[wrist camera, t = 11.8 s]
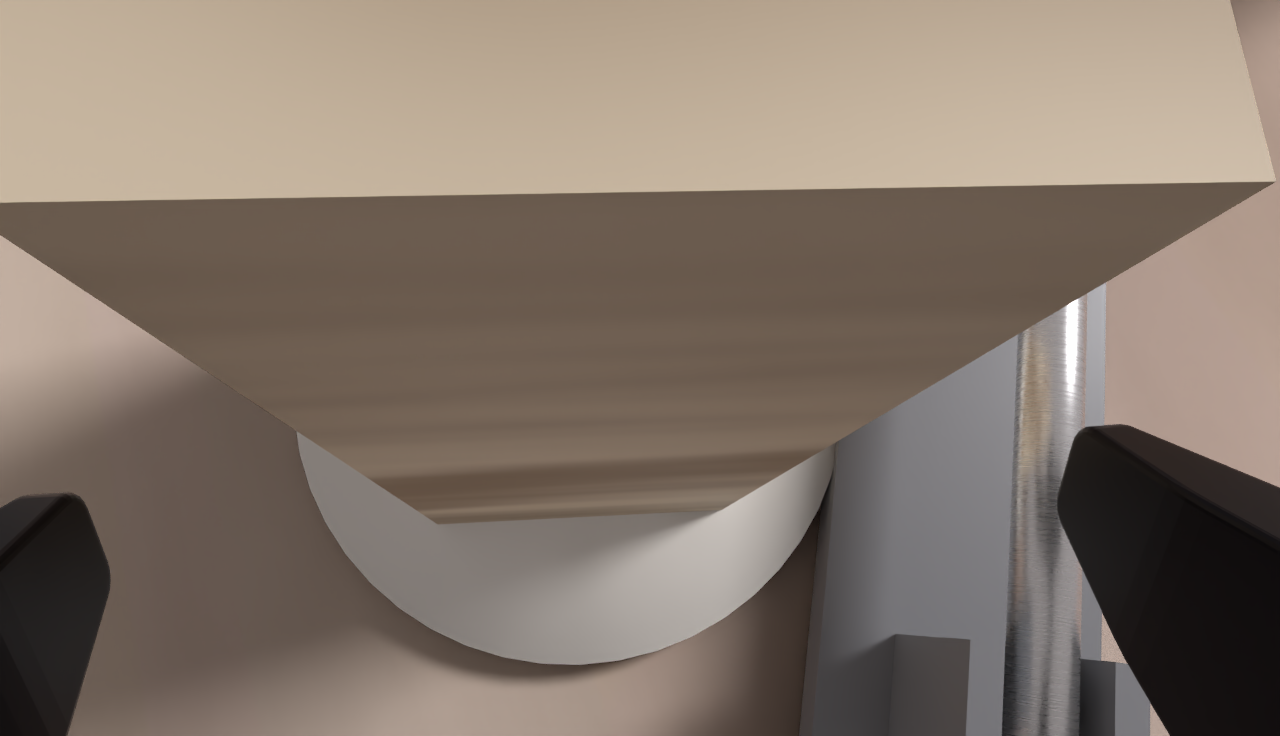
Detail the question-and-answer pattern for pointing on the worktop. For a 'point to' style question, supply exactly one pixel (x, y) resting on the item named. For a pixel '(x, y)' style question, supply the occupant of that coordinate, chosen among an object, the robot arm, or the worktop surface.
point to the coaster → (568, 564)
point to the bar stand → (939, 567)
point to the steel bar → (1044, 531)
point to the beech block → (606, 212)
